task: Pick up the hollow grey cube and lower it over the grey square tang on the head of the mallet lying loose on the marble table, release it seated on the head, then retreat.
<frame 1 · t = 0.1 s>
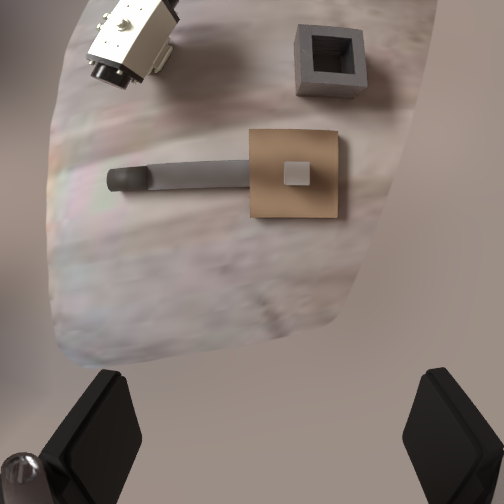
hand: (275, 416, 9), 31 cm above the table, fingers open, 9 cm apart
pneumatic valve: (154, 56, 34), on the table
hollow grey cube: (323, 70, 34), on the table
mallet: (292, 173, 37), on the table
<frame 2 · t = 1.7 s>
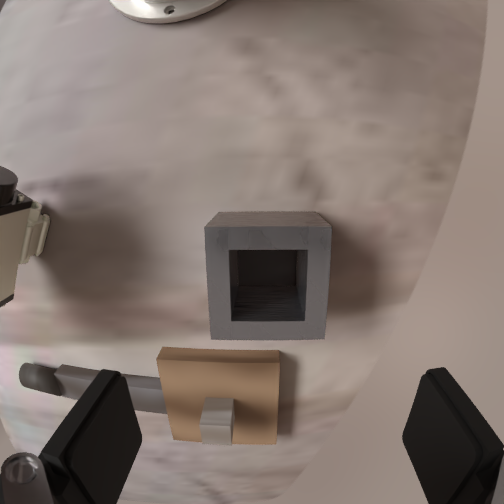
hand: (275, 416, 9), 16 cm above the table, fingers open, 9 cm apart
pneumatic valve: (33, 225, 25), on the table
hollow grey cube: (267, 258, 24), on the table
mallet: (222, 393, 28), on the table
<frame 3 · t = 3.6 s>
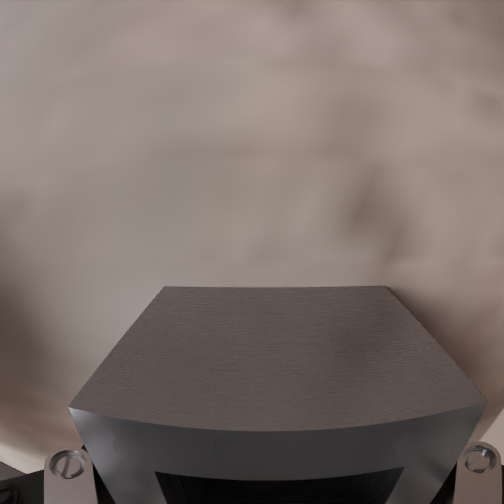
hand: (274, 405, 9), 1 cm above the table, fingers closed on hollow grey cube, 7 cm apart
hollow grey cube: (274, 380, 11), on the table, touching gripper
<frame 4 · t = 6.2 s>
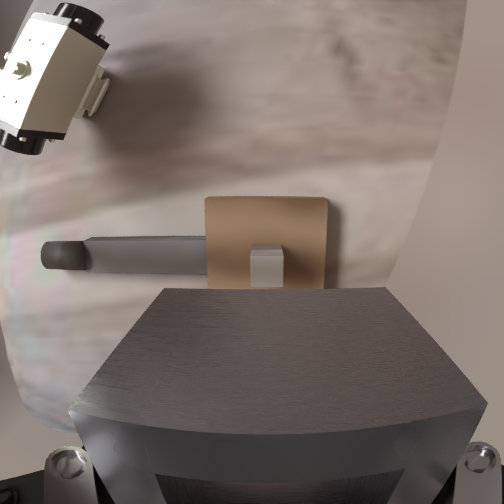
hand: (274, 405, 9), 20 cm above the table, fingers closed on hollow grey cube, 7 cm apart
pneumatic valve: (89, 92, 26), on the table
hollow grey cube: (274, 382, 11), point 19 cm above the table, touching gripper
mallet: (266, 252, 29), on the table
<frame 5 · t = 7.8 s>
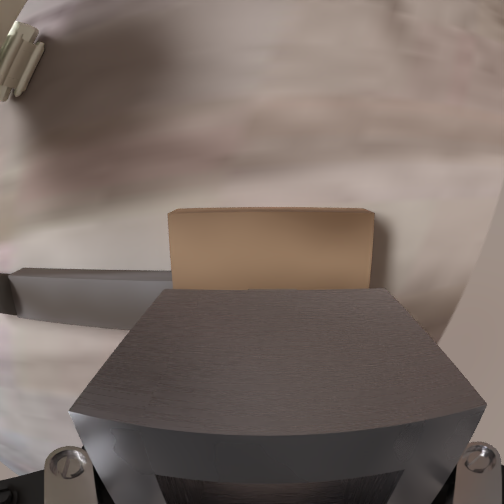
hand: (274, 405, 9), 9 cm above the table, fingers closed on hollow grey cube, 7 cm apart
pneumatic valve: (21, 65, 15), on the table
hollow grey cube: (274, 382, 11), point 8 cm above the table, touching gripper
mallet: (270, 296, 18), on the table
when the fingers open (4 cm above the table, at t = 9.3 s): hollow grey cube stays where it is, resting on mallet.
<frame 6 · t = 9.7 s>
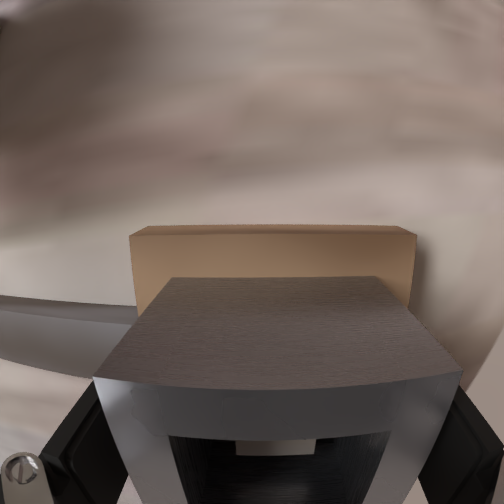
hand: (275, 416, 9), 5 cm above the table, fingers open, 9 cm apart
hollow grey cube: (273, 365, 12), point 2 cm above the table, touching mallet
mallet: (272, 340, 14), on the table, touching hollow grey cube
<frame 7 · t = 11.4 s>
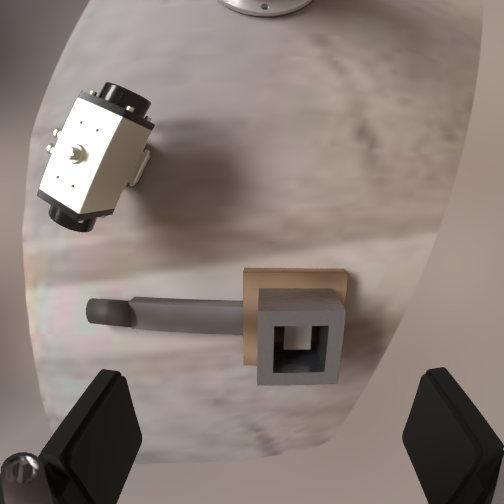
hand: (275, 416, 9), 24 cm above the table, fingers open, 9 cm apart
pneumatic valve: (129, 161, 31), on the table
hollow grey cube: (294, 322, 32), point 2 cm above the table, touching mallet
mallet: (292, 314, 33), on the table, touching hollow grey cube
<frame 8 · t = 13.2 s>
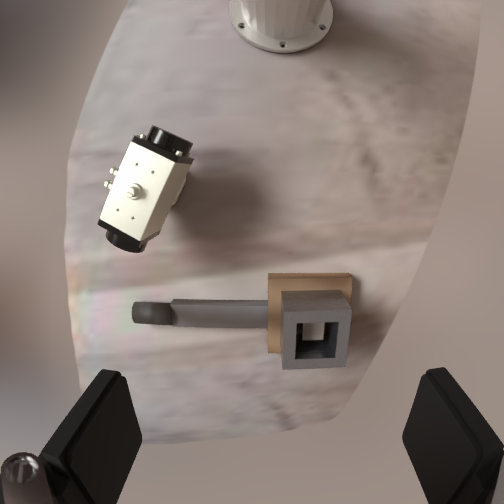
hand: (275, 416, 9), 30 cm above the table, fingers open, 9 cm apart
pneumatic valve: (166, 184, 38), on the table
hollow grey cube: (309, 317, 39), point 2 cm above the table, touching mallet
mallet: (307, 310, 41), on the table, touching hollow grey cube
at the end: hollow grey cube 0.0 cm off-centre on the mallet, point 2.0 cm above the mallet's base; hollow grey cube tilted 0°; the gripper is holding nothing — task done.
